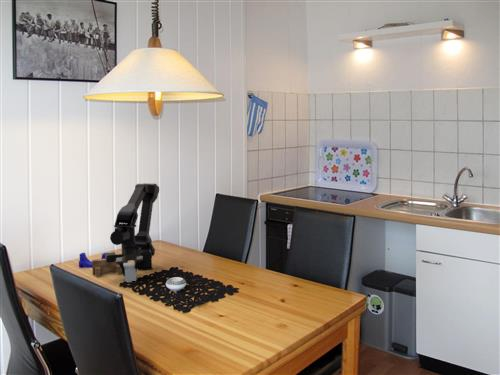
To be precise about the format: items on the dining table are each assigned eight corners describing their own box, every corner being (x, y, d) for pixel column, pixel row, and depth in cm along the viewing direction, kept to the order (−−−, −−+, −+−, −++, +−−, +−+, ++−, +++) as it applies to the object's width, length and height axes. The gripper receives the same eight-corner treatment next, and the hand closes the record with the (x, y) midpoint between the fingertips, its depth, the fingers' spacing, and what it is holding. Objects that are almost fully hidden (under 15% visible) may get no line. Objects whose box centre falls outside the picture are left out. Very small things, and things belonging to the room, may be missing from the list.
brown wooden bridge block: (127, 269, 231) (127, 256, 230) (129, 273, 225) (128, 260, 224) (92, 273, 226) (92, 259, 225) (93, 277, 220) (92, 263, 219)
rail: (132, 273, 225) (132, 262, 224) (136, 281, 213) (135, 269, 213) (123, 274, 223) (122, 263, 223) (126, 282, 212) (125, 270, 212)
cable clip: (78, 267, 235) (78, 255, 234) (82, 265, 240) (82, 252, 239) (104, 268, 234) (104, 255, 234) (107, 265, 239) (107, 252, 238)
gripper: (106, 245, 206) (108, 283, 208) (153, 241, 212) (154, 278, 214) (104, 239, 216) (106, 275, 218) (149, 236, 222) (150, 271, 224)
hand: (129, 275), depth 218 cm, fingers closed on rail, 4 cm apart
